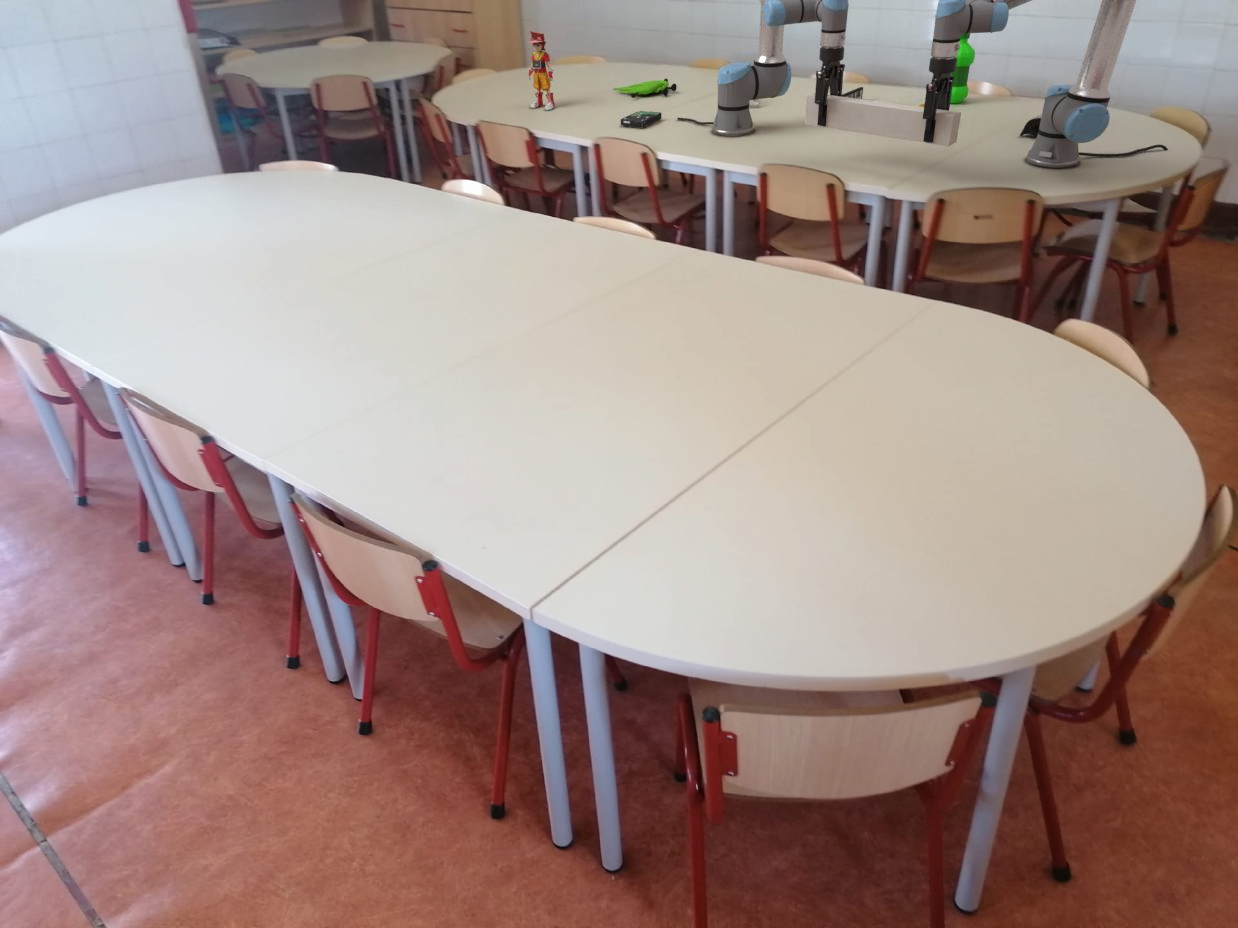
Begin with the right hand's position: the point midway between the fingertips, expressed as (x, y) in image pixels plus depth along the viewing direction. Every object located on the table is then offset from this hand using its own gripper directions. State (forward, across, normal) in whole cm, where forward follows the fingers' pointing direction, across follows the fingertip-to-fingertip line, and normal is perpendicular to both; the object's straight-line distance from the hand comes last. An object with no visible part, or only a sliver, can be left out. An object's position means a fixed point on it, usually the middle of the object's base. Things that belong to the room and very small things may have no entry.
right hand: (932, 139), depth 272 cm
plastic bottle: (+13, +94, +35) cm, 101 cm away
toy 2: (+12, +46, +158) cm, 165 cm away
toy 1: (+12, +4, +177) cm, 178 cm away
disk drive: (+12, +6, +123) cm, 124 cm away
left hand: (0, 0, +37) cm, 37 cm away
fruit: (+13, +59, +30) cm, 67 cm away
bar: (+1, 0, +19) cm, 19 cm away
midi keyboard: (+13, +70, +68) cm, 99 cm away
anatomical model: (+12, +50, +106) cm, 118 cm away
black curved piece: (+13, +75, -10) cm, 77 cm away
